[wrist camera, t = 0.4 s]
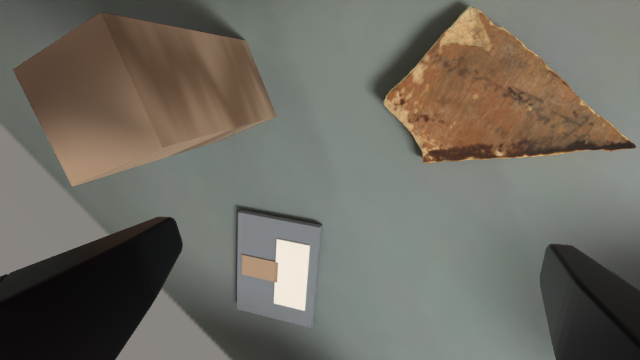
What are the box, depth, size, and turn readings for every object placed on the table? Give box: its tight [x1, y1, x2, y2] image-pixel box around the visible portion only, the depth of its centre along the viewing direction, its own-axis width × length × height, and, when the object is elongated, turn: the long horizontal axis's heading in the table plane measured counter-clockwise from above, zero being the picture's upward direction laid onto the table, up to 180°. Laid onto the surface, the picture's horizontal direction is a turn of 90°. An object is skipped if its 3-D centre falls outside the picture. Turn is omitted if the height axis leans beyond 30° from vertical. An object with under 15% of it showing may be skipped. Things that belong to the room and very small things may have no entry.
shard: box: [383, 6, 636, 163], centre depth 20 cm, size 11×8×2 cm
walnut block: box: [13, 12, 276, 187], centre depth 19 cm, size 5×5×11 cm
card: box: [237, 210, 322, 328], centre depth 26 cm, size 8×6×1 cm
